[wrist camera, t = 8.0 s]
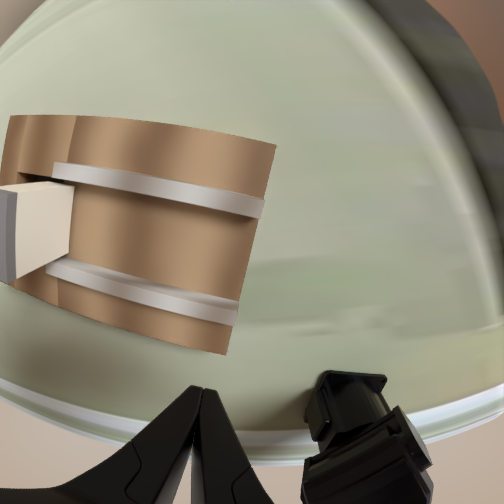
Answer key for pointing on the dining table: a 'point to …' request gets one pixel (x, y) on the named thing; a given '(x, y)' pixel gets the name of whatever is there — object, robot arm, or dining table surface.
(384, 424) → the robot arm
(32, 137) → the board
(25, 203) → the plunger
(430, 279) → the dining table surface
